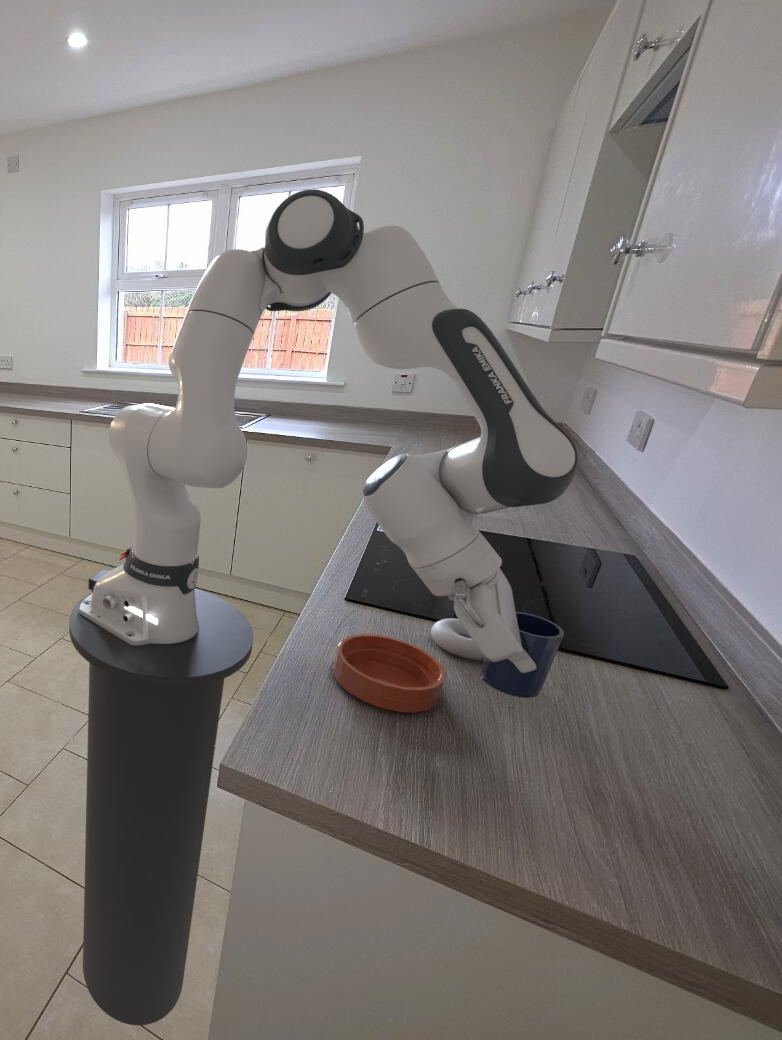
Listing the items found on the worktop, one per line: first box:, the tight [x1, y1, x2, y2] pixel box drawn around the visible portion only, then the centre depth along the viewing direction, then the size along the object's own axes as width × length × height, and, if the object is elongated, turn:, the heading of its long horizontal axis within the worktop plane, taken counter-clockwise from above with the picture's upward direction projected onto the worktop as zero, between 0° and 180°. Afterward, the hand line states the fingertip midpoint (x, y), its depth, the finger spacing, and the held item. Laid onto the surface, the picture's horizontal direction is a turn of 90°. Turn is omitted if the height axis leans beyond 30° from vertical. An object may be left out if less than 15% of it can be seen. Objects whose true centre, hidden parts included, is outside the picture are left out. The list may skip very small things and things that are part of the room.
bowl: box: [332, 633, 447, 713], centre depth 85 cm, size 14×14×4 cm
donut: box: [430, 617, 486, 661], centre depth 95 cm, size 10×4×10 cm
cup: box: [479, 611, 565, 699], centre depth 73 cm, size 6×6×9 cm
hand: (526, 653), depth 73 cm, fingers closed on cup, 6 cm apart
